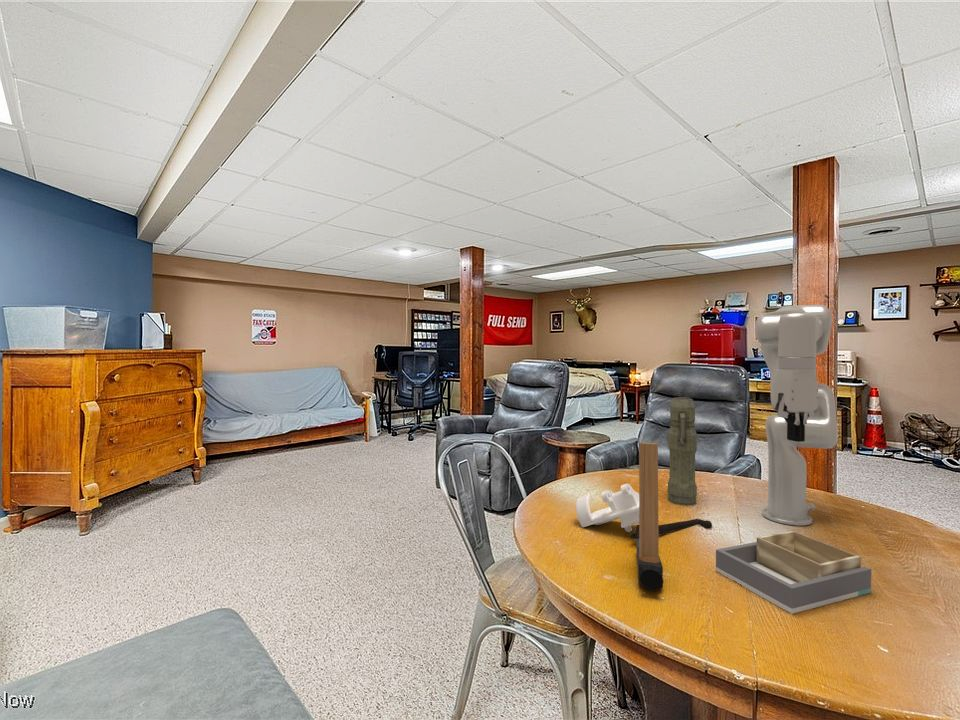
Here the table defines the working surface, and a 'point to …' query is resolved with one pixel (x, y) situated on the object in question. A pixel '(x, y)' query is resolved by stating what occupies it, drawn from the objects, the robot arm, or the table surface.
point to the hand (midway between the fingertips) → (795, 440)
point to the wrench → (675, 527)
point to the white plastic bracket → (611, 508)
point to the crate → (803, 556)
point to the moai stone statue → (682, 452)
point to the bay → (789, 581)
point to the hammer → (648, 519)
